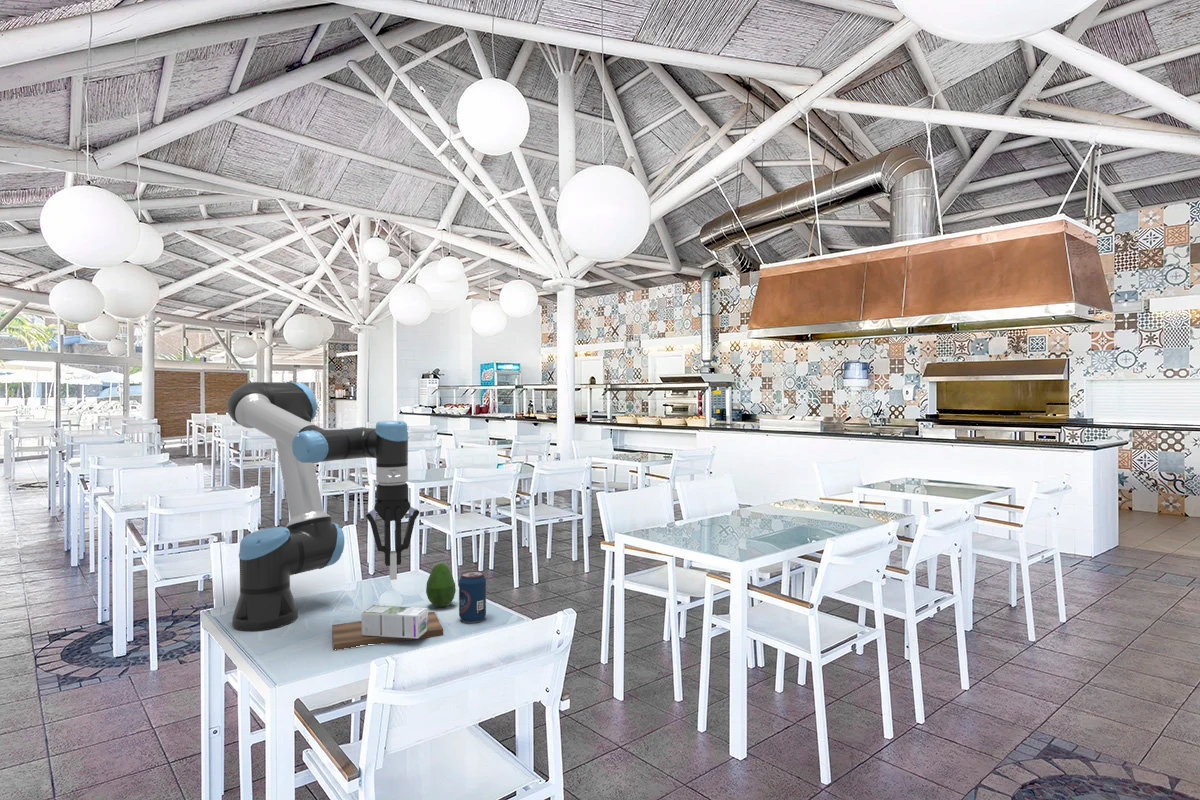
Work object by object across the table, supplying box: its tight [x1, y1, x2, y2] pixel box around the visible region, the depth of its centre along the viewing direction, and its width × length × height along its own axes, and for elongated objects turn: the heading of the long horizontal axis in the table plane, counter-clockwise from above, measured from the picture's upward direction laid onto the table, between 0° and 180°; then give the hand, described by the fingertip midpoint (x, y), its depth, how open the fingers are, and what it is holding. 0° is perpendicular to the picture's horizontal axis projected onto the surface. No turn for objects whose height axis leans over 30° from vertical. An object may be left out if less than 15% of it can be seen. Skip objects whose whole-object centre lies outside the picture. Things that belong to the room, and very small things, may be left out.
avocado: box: [425, 562, 457, 608], centre depth 184 cm, size 8×8×12 cm
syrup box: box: [361, 604, 429, 640], centre depth 159 cm, size 6×6×14 cm
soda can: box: [458, 570, 487, 624], centre depth 174 cm, size 7×7×12 cm
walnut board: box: [331, 611, 444, 651], centre depth 164 cm, size 14×25×2 cm, turn 113°
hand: (393, 578), depth 165 cm, fingers closed
